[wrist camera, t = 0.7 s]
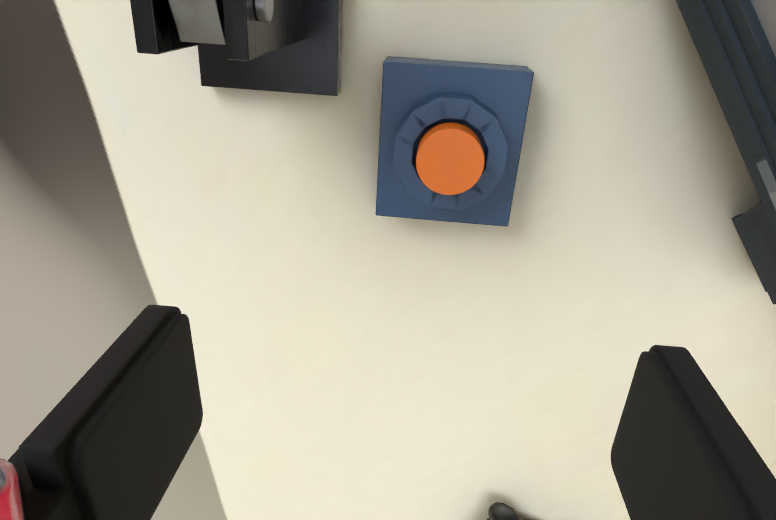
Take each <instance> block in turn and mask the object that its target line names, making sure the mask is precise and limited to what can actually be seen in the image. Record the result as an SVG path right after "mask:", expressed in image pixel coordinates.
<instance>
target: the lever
mask: <svg viewBox="0 0 776 520" xmlns="http://www.w3.org/2000/svg"><path fill="white" fill-rule="evenodd" d="M168 3H169V6H170V9H171V13H172V16H173V19H174V23H175V26H176V29H177V33H178V36H179V39H180V41H182V42H195V43H209V44H223V45H225V44H226V43H225V28H224V14H223V0H168Z"/></svg>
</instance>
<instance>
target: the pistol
mask: <svg viewBox="0 0 776 520" xmlns="http://www.w3.org/2000/svg"><path fill="white" fill-rule="evenodd" d="M676 1H677V4H678V6H679V8H680V11H681V13H682V16H683V18H684V20H685V23H686V25H687V27H688V30H689V32H690V34H691V37H692V39H693V42H694V44H695V46H696V49H697V51H698V53H699V56H700V58H701V60H702V63H703V65H704V68H705V70H706V72H707V75H708V77H709V79H710V82H711V84H712V86H713V89H714V91H715V94H716V96H717V98H718V101H719V103H720V105H721V108H722V110H723V112H724V115H725V117H726V120H727V122H728V124H729V127H730V129H731V131H732V134H733V136H734V138H735V141H736V143H737V146H738V148H739V150H740V153H741V155H742V157H743V160H744V162H745V164H746V167H747V169H748V172H749V174H750V176H751V179H752V181H753V183H754V186H755V188H756V190H757V193H758V195H759V198H760V200H761V202H762V203H760V204H758V205H757V206H755V207H754V208H752V209H750V210H749V211H747V212H745V213H743V214H740V215H737V216H735V217H733V218H732V221H733V223H734V225H735V227H736V230H737V232H738V234H739V236H740V238H741V240H742V242H743V245H744V247H745V249H746V251H747V253H748V255H749V257H750V259H751V262H752V264H753V266H754V268H755V270H756V272H757V274H758V277H759V279H760V281H761V283H762V285H763V287H764V289H765V292H768V294H769V296H770V299H771V301H772V303H773V304H776V0H676Z"/></svg>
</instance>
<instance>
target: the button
mask: <svg viewBox="0 0 776 520" xmlns="http://www.w3.org/2000/svg"><path fill="white" fill-rule="evenodd" d="M484 162H485V160H484V153H483V149H482V145H481V142H480V140H479V138H478V137H477V135H476V134H475V133H474V132H473V131H472V130H471V129H470V128H468V127H467V126H465V125H462V124H459V123H454V122H448V123H442V124H439V125H436V126H435V127H433V128H431V129H430V130H429V131H428V132H427V133H426V134H425V135H424V136H423V137H422V139H421V141H420V143H419V146H418V150H417V157H416V168H417V172H418V175H419V177H420V179H421V181H422V182H423V183H424V184H425V185H426V186H427V187H428V188H429V189H431V190H432V191H434V192H437V193H439V194H444V195H456V194H460V193H463V192H465V191H467V190H468V189H470V188H471V187H472V186H474V185H475V184H476V182H477V181H478V180H479V178H480V177H481V175H482V172H483V169H484Z"/></svg>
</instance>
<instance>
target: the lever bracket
mask: <svg viewBox="0 0 776 520" xmlns="http://www.w3.org/2000/svg"><path fill="white" fill-rule="evenodd" d="M130 2H131V9H132V17H133V24H134V31H135V38H136V45H137V52H138V53H147V54H162V53H166V52H170V51H175V50H179V49H183V48H187V47H192V46H196V45H198V52H199V63H200V74H201V85H202V86H211V87H225V88H238V89H251V90H264V91H278V92H291V93H304V94H318V95H331V96H337V95H338V94H339V93H340V82H341V28H342V0H223V14H224V28H225V43H226V44H225V45H223V44H209V43H195V42H182V41H180V39H179V36H178V33H177V29H176V26H175V23H174V19H173V16H172V13H171V9H170V6H169V3H168V0H130Z"/></svg>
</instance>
